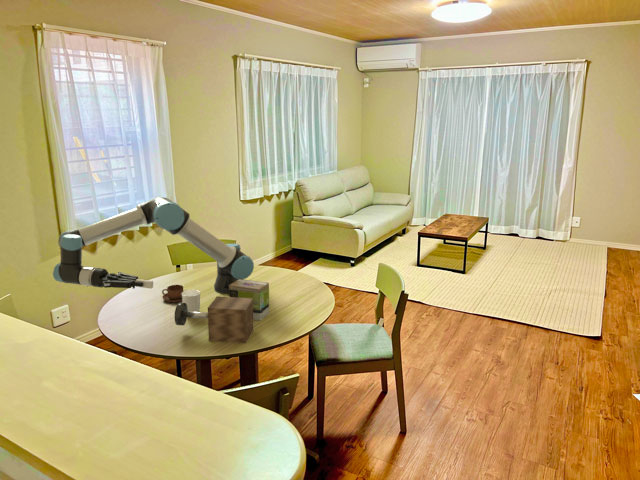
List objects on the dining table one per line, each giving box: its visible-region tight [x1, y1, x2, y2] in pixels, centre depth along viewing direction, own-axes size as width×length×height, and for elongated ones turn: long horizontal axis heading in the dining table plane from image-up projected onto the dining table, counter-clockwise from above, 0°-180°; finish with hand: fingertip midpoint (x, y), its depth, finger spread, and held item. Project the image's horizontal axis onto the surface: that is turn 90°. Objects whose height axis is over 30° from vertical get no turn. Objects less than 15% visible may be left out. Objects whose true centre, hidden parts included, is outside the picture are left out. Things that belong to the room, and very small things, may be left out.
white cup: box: [181, 289, 201, 312], centre depth 210 cm, size 8×8×10 cm
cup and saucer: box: [161, 284, 184, 303], centre depth 227 cm, size 12×12×6 cm
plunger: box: [174, 302, 208, 326], centre depth 191 cm, size 16×9×9 cm, turn 85°
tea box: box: [228, 279, 270, 322], centre depth 211 cm, size 15×10×15 cm
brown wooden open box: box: [207, 296, 254, 344], centre depth 191 cm, size 15×12×14 cm
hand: (152, 284), depth 190 cm, fingers closed
